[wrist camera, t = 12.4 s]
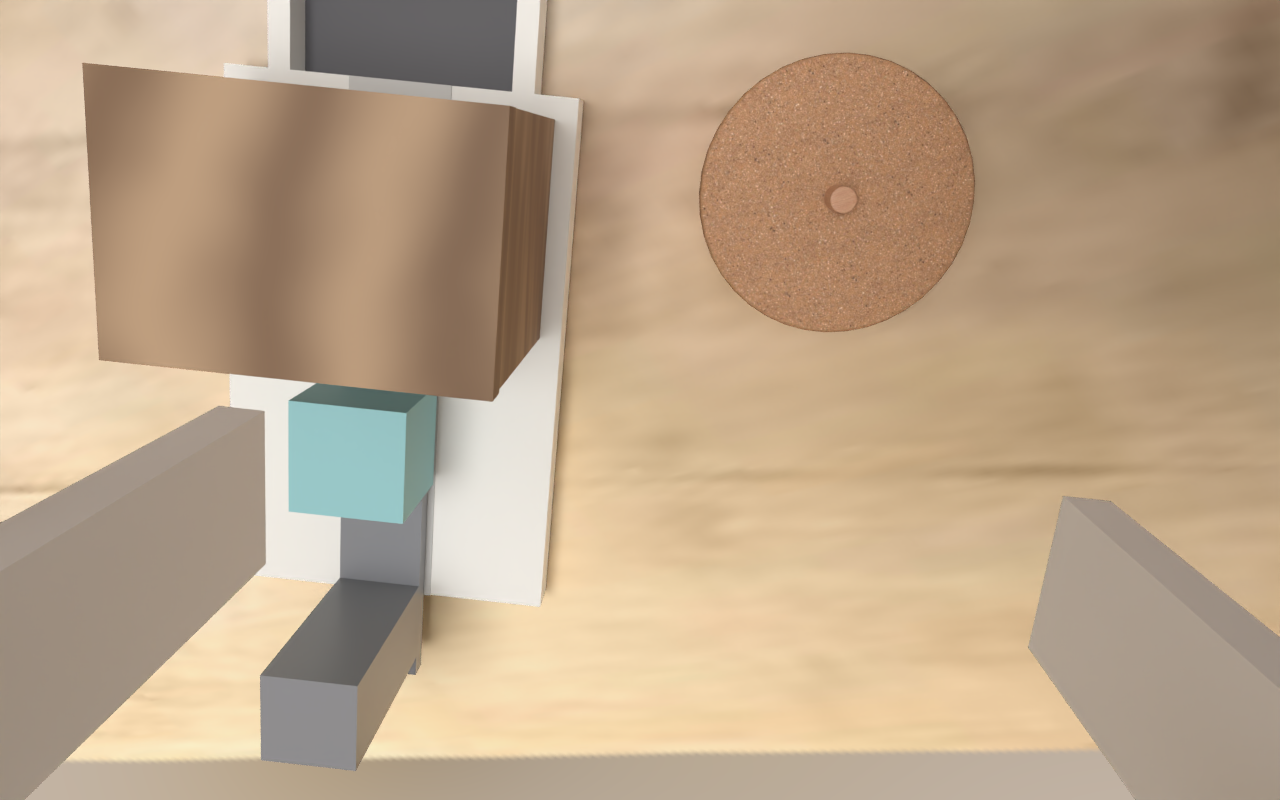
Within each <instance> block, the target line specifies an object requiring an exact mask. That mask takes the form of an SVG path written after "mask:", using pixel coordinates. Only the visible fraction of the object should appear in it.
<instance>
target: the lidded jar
mask: <svg viewBox="0 0 1280 800" xmlns="http://www.w3.org/2000/svg"><path fill="white" fill-rule="evenodd" d="M974 187H975V178H974V169H973V160H972V155H971V152H970V148H969V145H968V141H967V138H966V135H965V133H964V131H963V129H962V127H961V125H960V123H959V121H958V118H957V117H956V115H955V114H954V112H953V111H952V109H951V108H950V107H949V105H948V104H947V102H946V101H945V99H944V98H943V97H942V96H941V95H940V94H939V93H938V92H937V91H936V90H935V89H934V88H933V87H932V86H931V85H930V84H929V83H927V82H926V81H925V80H923V79H922V78H920V77H919V76H918V75H916V74H915V73H914V72H912V71H910V70H908V69H906V68H904V67H902V66H900V65H898V64H896V63H894V62H892V61H889V60H885V59H882V58H878V57H875V56H871V55H864V54H855V53H834V54H823V55H819V56H814V57H810V58H805V59H802V60H799V61H797V62H794V63H792V64H789V65H787V66H784V67H782V68H780V69H779V70H777V71H775V72H774V73H772V74H770V75H768V76H767V77H765V78H763V79H762V80H761V81H759V82H758V83H757V84H756V85H755V86H753V87H752V88H751V89H750V90H749V91H747V92H746V93H745V94H744V95H743V96H742V97H741V98H740V99H739V101H738V102H737V103H736V104H735V105H734V106H733V107H732V108H731V109H730V111H729V112H728V114H727V115H726V117H725V118H724V120H723V121H722V123H721V124H720V126H719V127H718V129H717V131H716V133H715V135H714V137H713V140H712V142H711V144H710V146H709V148H708V151H707V154H706V158H705V162H704V165H703V169H702V174H701V182H700V190H699V204H700V218H701V223H702V229H703V234H704V237H705V240H706V243H707V246H708V249H709V251H710V254H711V256H712V258H713V260H714V262H715V264H716V265H717V267H718V269H719V271H720V273H721V274H722V276H723V277H724V278H725V280H726V281H727V282H728V283H729V285H730V286H731V287H732V289H733V290H734V291H735V292H736V293H737V294H738V295H739V296H741V297H742V298H743V299H744V300H745V301H746V302H747V303H748V304H749V305H751V306H752V307H754V308H755V309H757V310H758V311H760V312H761V313H763V314H764V315H766V316H768V317H770V318H772V319H774V320H777V321H779V322H781V323H783V324H786V325H789V326H793V327H797V328H800V329H804V330H812V331H820V332H838V331H849V330H854V329H860V328H865V327H868V326H871V325H874V324H877V323H880V322H882V321H885V320H887V319H889V318H891V317H893V316H895V315H897V314H899V313H901V312H902V311H904V310H906V309H907V308H909V307H910V306H911V305H913V304H914V303H915V302H917V301H918V300H920V299H921V298H922V297H923V296H924V295H925V294H926V293H927V292H928V291H929V290H930V289H931V288H932V287H933V286H934V285H935V284H936V283H937V282H938V281H939V280H940V279H941V277H942V276H943V275H944V273H945V272H946V271H947V269H948V268H949V267H950V265H951V264H952V262H953V260H954V259H955V257H956V255H957V253H958V251H959V249H960V247H961V246H962V243H963V241H964V238H965V235H966V232H967V229H968V227H969V224H970V219H971V214H972V209H973V204H974Z"/></svg>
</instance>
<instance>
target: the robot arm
mask: <svg viewBox="0 0 1280 800" xmlns="http://www.w3.org/2000/svg"><path fill="white" fill-rule="evenodd" d="M265 564H266V510H265V411H262V410H252V409H243V408H234V407H224V406H218V407H216V408H214V409H212V410H210V411H208V412H207V413H205V414H203V415H201V416H199V417H197V418H195V419H194V420H192V421H190V422H188V423H186V424H184V425H182V426H180V427H179V428H177V429H175V430H173V431H171V432H169V433H167V434H166V435H164V436H162V437H160V438H158V439H156V440H154V441H153V442H151V443H149V444H147V445H145V446H143V447H141V448H139V449H138V450H136V451H134V452H132V453H130V454H128V455H126V456H125V457H123V458H121V459H119V460H117V461H115V462H113V463H111V464H110V465H108V466H106V467H104V468H102V469H100V470H98V471H97V472H95V473H93V474H91V475H89V476H87V477H85V478H84V479H82V480H80V481H78V482H76V483H74V484H72V485H70V486H69V487H67V488H65V489H63V490H61V491H59V492H57V493H56V494H54V495H52V496H50V497H48V498H46V499H44V500H43V501H41V502H39V503H37V504H35V505H33V506H31V507H29V508H28V509H26V510H24V511H22V512H20V513H18V514H16V515H15V516H13V517H11V518H9V519H7V520H5V521H3V522H0V800H25V799H26V798H27V797H28V796H29V795H30V794H31V793H32V792H33V791H34V790H35V789H36V788H37V787H38V786H39V785H40V784H41V783H42V782H43V781H44V780H45V779H46V778H47V777H48V776H49V775H50V774H51V773H52V772H53V771H54V770H55V769H56V768H57V767H58V766H59V765H61V764H62V763H63V762H64V761H65V760H66V759H67V758H68V757H69V756H70V755H71V754H72V753H73V752H74V751H75V750H76V749H77V748H78V747H79V746H80V745H81V744H82V743H83V742H84V741H85V740H86V739H87V738H88V737H89V736H90V735H91V734H92V733H93V732H94V731H95V730H96V729H97V728H98V727H99V726H100V725H101V724H103V723H104V722H105V721H106V720H107V719H108V718H109V717H110V716H111V715H112V714H113V713H114V712H115V711H116V710H117V709H118V708H119V707H120V706H121V705H122V704H123V703H124V702H125V701H126V700H127V699H128V698H129V697H130V696H131V695H132V694H133V693H134V692H135V691H136V690H137V689H138V688H139V687H140V686H141V685H142V684H143V683H145V682H146V681H147V680H148V679H149V678H150V677H151V676H152V675H153V674H154V673H155V672H156V671H157V670H158V669H159V668H160V667H161V666H162V665H163V664H164V663H165V662H166V661H167V660H168V659H169V658H170V657H171V656H172V655H173V654H174V653H175V652H176V651H177V650H178V649H179V648H180V647H181V646H182V645H183V644H184V643H185V642H187V641H188V640H189V639H190V638H191V637H192V636H193V635H194V634H195V633H196V632H197V631H198V630H199V629H200V628H201V627H202V626H203V625H204V624H205V623H206V622H207V621H208V620H209V619H210V618H211V617H212V616H213V615H214V614H215V613H216V612H217V611H218V610H219V609H220V608H221V607H222V606H223V605H224V604H225V603H226V602H227V601H228V600H230V599H231V598H232V597H233V596H234V595H235V594H236V593H237V592H238V591H239V590H240V589H241V588H242V587H243V586H244V585H245V584H246V583H247V582H248V581H249V580H250V579H251V578H252V577H253V576H254V575H255V574H256V573H257V572H258V571H259V570H260V569H261V568H262V567H263V566H264V565H265ZM1028 648H1029V650H1030V651H1031V652H1032V654H1033V655H1034V657H1035V658H1036V660H1037V661H1038V662H1039V664H1040V665H1041V667H1042V668H1043V669H1044V671H1045V672H1046V674H1047V675H1048V677H1049V678H1050V679H1051V681H1052V682H1053V684H1054V685H1055V687H1056V688H1057V689H1058V691H1059V692H1060V694H1061V695H1062V696H1063V698H1064V699H1065V701H1066V702H1067V704H1068V705H1069V706H1070V708H1071V709H1072V711H1073V712H1074V714H1075V715H1076V716H1077V718H1078V719H1079V721H1080V722H1081V723H1082V725H1083V726H1084V728H1085V729H1086V731H1087V732H1088V733H1089V735H1090V736H1091V738H1092V739H1093V740H1094V742H1095V743H1096V745H1097V746H1098V748H1099V749H1100V750H1101V752H1102V753H1103V755H1104V756H1105V757H1106V759H1107V760H1108V762H1109V763H1110V764H1111V766H1112V767H1113V769H1114V770H1115V772H1116V773H1117V775H1118V776H1119V777H1120V779H1121V780H1122V782H1123V783H1124V784H1125V786H1126V787H1127V788H1128V790H1129V791H1130V793H1131V794H1132V796H1133V797H1134V799H1135V800H1280V637H1279V636H1278V635H1276V634H1275V633H1274V632H1273V631H1271V630H1270V629H1269V628H1268V627H1266V626H1265V625H1264V624H1263V623H1261V622H1260V621H1259V620H1258V619H1256V618H1255V617H1254V616H1253V615H1251V614H1250V613H1249V612H1248V611H1246V610H1245V609H1244V608H1243V607H1242V606H1240V605H1239V604H1238V603H1237V602H1235V601H1234V600H1233V599H1232V598H1230V597H1229V596H1228V595H1227V594H1225V593H1224V592H1223V591H1222V590H1220V589H1219V588H1218V587H1217V586H1215V585H1214V584H1213V583H1212V582H1210V581H1209V580H1208V579H1207V578H1205V577H1204V576H1203V575H1202V574H1200V573H1199V572H1198V571H1197V570H1195V569H1194V568H1193V567H1192V566H1191V565H1189V564H1188V563H1187V562H1186V561H1184V560H1183V559H1182V558H1181V557H1179V556H1178V555H1177V554H1176V553H1174V552H1173V551H1172V550H1171V549H1169V548H1168V547H1167V546H1166V545H1164V544H1163V543H1162V542H1161V541H1159V540H1158V539H1157V538H1156V537H1154V536H1153V535H1152V534H1151V533H1149V532H1148V531H1147V530H1146V529H1144V528H1143V527H1142V526H1141V525H1140V524H1138V523H1137V522H1136V521H1135V520H1133V519H1132V518H1131V517H1130V516H1128V515H1127V514H1126V513H1125V512H1123V511H1122V510H1121V509H1120V508H1118V507H1117V506H1116V505H1115V504H1113V503H1112V502H1111V501H1104V500H1095V499H1086V498H1076V497H1067V496H1063V499H1062V503H1061V507H1060V512H1059V516H1058V520H1057V525H1056V529H1055V533H1054V538H1053V542H1052V546H1051V551H1050V555H1049V559H1048V564H1047V568H1046V572H1045V577H1044V581H1043V585H1042V590H1041V594H1040V598H1039V603H1038V607H1037V611H1036V616H1035V620H1034V624H1033V629H1032V633H1031V637H1030V642H1029V646H1028Z"/></svg>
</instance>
